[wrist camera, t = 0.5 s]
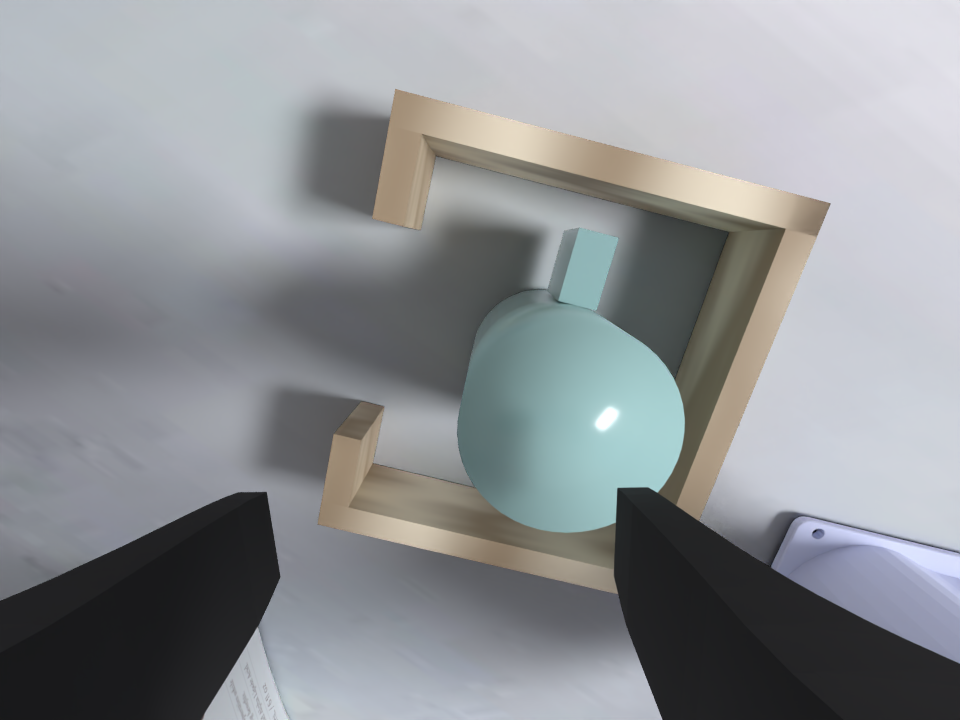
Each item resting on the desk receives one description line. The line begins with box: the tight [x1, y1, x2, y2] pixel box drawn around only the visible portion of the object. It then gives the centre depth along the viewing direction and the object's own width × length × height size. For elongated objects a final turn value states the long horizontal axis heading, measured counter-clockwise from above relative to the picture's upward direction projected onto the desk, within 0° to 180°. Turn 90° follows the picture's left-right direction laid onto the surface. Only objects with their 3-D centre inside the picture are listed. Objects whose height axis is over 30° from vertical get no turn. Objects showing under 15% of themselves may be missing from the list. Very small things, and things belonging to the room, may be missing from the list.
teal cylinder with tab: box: [457, 228, 685, 533], centre depth 15 cm, size 6×8×8 cm
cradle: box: [318, 89, 831, 594], centre depth 17 cm, size 14×15×4 cm
